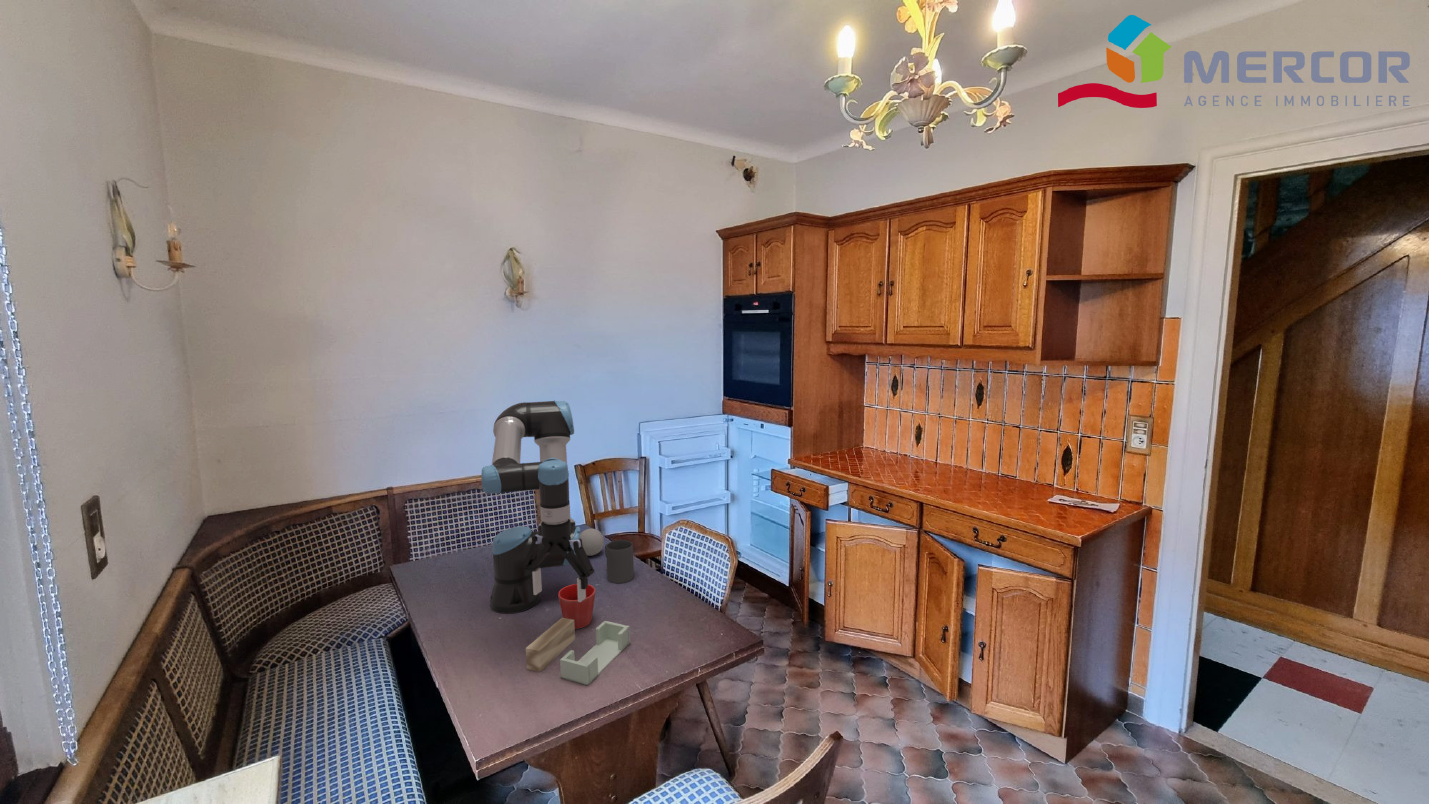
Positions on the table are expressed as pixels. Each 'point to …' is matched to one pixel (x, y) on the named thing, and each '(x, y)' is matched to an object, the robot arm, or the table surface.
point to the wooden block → (550, 644)
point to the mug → (619, 561)
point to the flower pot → (577, 605)
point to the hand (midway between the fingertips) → (559, 596)
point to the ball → (592, 541)
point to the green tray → (596, 654)
